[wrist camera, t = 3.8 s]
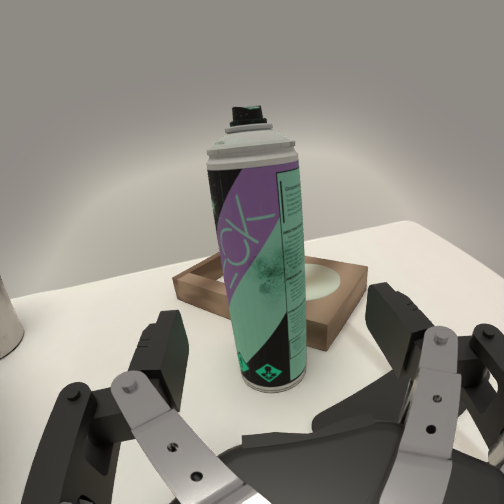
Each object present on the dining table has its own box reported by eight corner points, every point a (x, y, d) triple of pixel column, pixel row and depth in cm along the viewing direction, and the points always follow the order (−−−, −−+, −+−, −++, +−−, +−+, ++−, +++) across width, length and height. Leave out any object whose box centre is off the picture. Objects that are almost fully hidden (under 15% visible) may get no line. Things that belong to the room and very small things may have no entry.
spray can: (261, 342, 27) (234, 112, 19) (315, 356, 24) (306, 103, 16) (228, 379, 22) (180, 113, 15) (288, 401, 20) (264, 94, 12)
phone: (304, 419, 18) (437, 335, 22) (304, 425, 18) (435, 341, 23) (366, 493, 11) (494, 372, 16) (363, 497, 11) (491, 379, 16)
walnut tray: (177, 298, 36) (171, 276, 35) (236, 262, 45) (233, 242, 43) (326, 351, 24) (327, 323, 23) (366, 289, 33) (367, 265, 32)
